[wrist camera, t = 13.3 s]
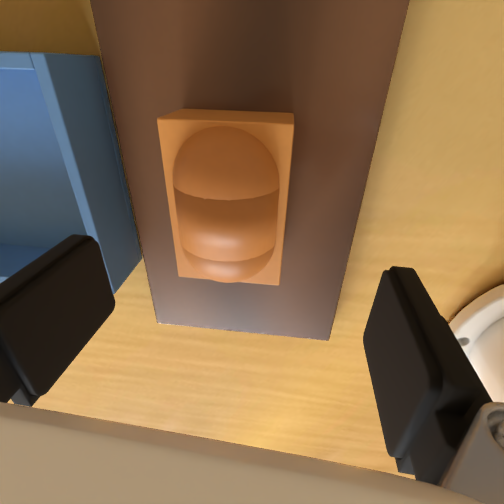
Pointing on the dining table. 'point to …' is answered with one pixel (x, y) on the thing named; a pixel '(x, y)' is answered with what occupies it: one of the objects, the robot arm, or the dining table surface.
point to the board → (260, 100)
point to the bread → (227, 191)
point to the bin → (60, 163)
